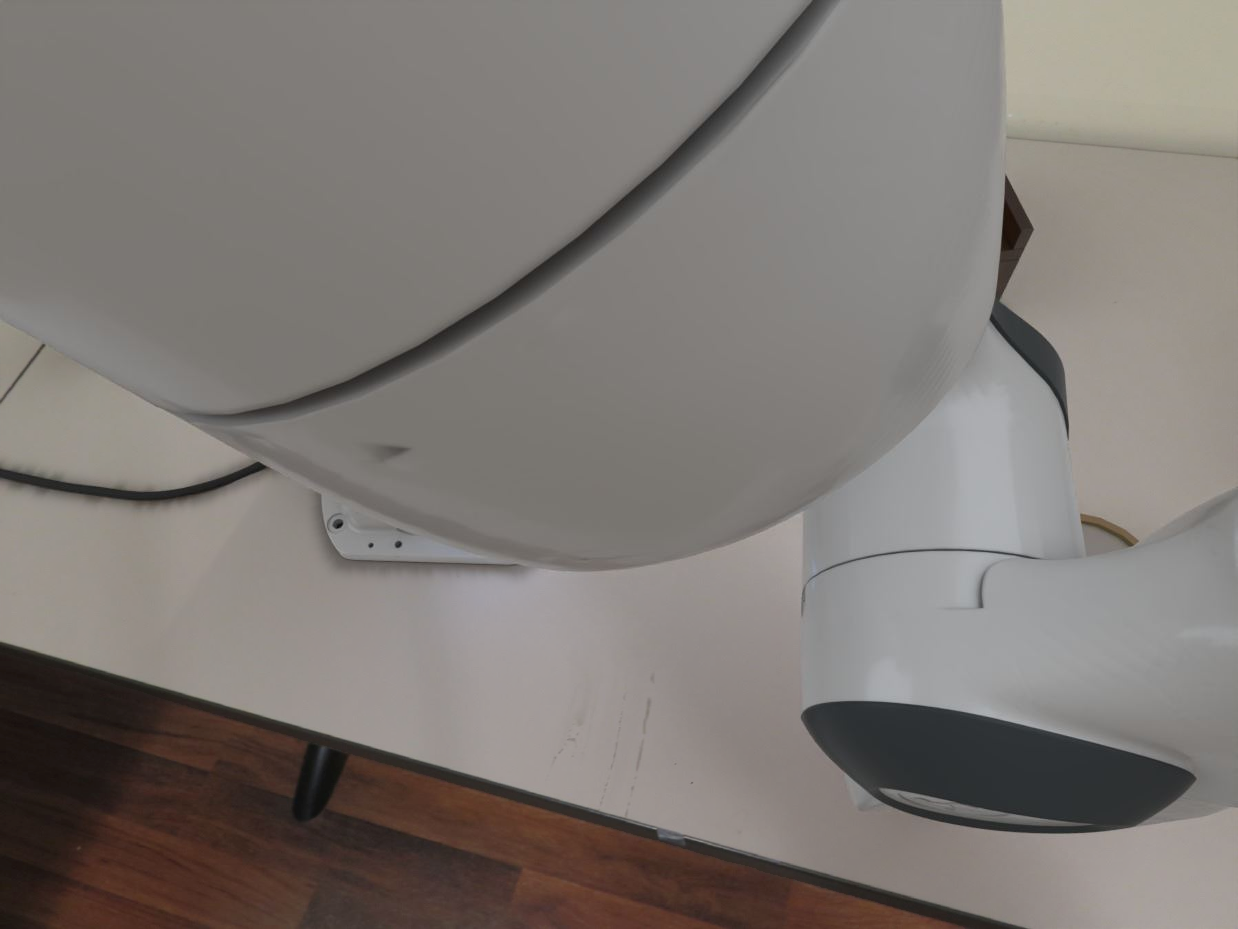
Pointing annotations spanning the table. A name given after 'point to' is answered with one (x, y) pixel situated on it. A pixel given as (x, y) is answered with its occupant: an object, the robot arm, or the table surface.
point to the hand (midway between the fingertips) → (1003, 758)
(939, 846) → the table surface
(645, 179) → the robot arm
